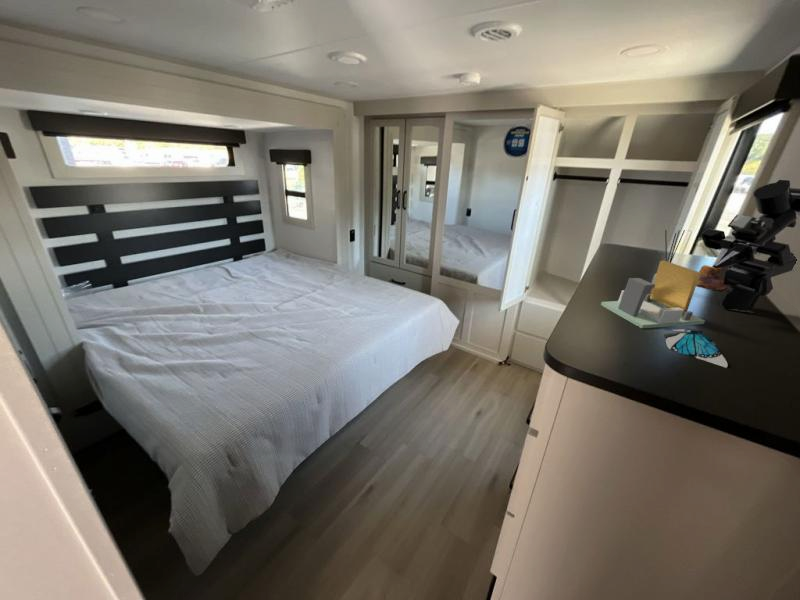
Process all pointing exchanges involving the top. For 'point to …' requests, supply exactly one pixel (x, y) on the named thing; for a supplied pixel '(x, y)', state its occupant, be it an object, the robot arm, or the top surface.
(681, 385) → the top surface
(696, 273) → the gold rectangular plate
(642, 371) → the top surface
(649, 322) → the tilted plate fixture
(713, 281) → the brown piece
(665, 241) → the reed diffuser
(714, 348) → the decorative butterfly
